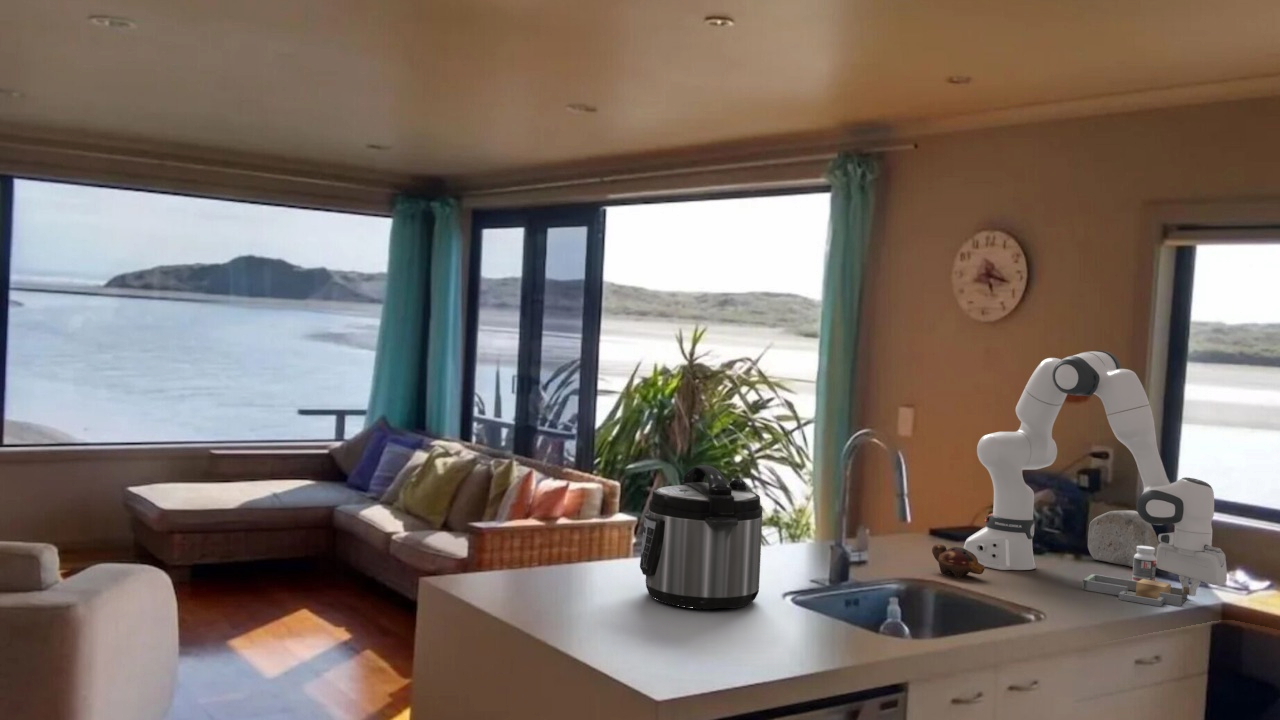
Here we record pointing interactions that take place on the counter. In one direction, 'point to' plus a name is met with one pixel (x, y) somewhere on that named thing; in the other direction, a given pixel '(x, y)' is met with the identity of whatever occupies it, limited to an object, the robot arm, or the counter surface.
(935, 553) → the decorative turtle
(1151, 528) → the decorative stone
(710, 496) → the pressure cooker
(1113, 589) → the channel
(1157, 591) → the oak block
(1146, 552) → the pill bottle
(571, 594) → the counter surface
